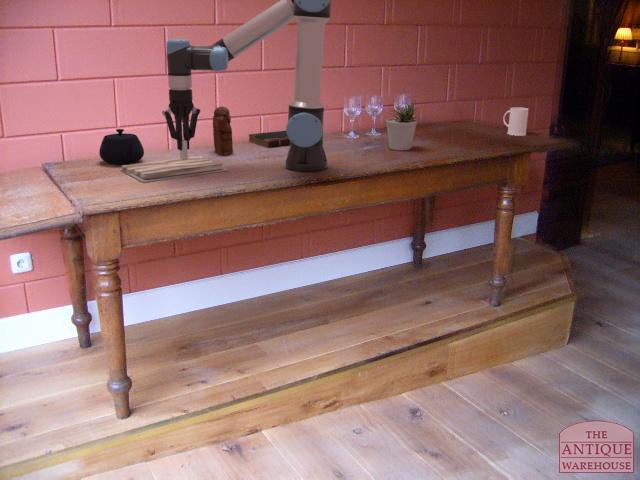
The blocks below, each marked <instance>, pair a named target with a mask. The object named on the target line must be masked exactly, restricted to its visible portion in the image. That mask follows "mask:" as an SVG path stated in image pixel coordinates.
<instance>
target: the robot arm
mask: <svg viewBox="0 0 640 480" xmlns="http://www.w3.org/2000/svg"><path fill="white" fill-rule="evenodd" d="M331 7H332V0H279V1H277V2H275V4H272V5H271V6H270V7H268V8H267V9H265V10H264V11H262V12H260V13H259V14H256V16H254V17H253V18H251V19H250V20H248V21H247V22H244V24H242V25H240V26H239V27H238V28H236V29H234V30H233V31H231V32H229V33H228V34H227V35H225V36H224V37H223V38H221V39H218V40H217V41H216V42H214V43H213V44H211V45H208V46H206V45H205V46H194V45H191V42H190V40H189V39H181V38H180V39H177V38H176V39H175V38H174V39H168V40H167V41H166V54H165V55H166V64H167V79H168V80H167V83H168V88H169V89H168V100H169V101H168V102H169V104H168V107H167V108H166V109H165V110H163V111H161V112H162V113H161V114H162V115H163V116H164V118H165V120H166V124H167V128H168V132H169V135H170V137H171V139H173V140H175V141H176V147H177V150H178V151H179V159H182V160H188V150H190V140H191V139H193V138H195V135H196V128H197V124H198V123H197V122H198V117H199V114H200V113H201V109H200V108H197V107H195V105H194V102H193V89H191V88H192V87H193V84H192V71H211V72H212V71H214V72H219V71H226V70H227V69H228V66H229V62H230V61H232V60H233V59H235V58H237V57H238V56H239V55H241V54H242V53H244V52H246V51H248V50H249V49H251V48H252V47H254V46H256V45H257V44H258V43H260V42H261V41H263V40H265V39H267V38H268V37H270V36H272V35H273V34H274V33H276V32H277V31H279V30H281V29H282V28H284V27H286V26H287V25H288V24H290V23H292V22H293V21H294V20H295V21H296V22H297V27H296V28H297V29H296V30H297V31H296V47H295V49H296V52H295V69H294V90H293V99H291V101H290V102H289V103H288V114H287V124H286V127H285V129H286V130H285V131H286V132H287V135H288V137H289V139H290V146H289V149H288V153H287V156H286V159H285V168H286V169H287V170H290V171H295V172H296V171H297V172H318V171H323V170H326V169H328V159H327V155H326V151H325V148H324V113H325V105H324V104H323V103H322V102H321V89H322V88H321V87H322V72H323V57H324V56H323V55H324V44H325V43H324V41H325V28H326V27H325V26H326V24H327V23H328V22H329V20H330V19H331V9H332V8H331ZM190 114H191V116H190ZM172 115H173V116H174V118H172ZM173 119H174V121H175V122H174V121H173ZM189 121H190V122H189ZM174 123H175V124H174Z"/></svg>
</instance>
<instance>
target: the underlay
mask: <svg viewBox="0 0 640 480" xmlns="http://www.w3.org/2000/svg"><path fill="white" fill-rule="evenodd" d="M120 172H122V173H123V174H125V175H127V176H130V177H131V178H133V179H135V180H136V181H139V182H140V183H142V184H145V183H154V182H161V181H167V180H173V179H182V178H189V177H195V176H204V175H210V174H216V173H223V172H229V169H228V168H225V167H222V169H216V170H209V171H202V172H195V173H187V174H180V175H173V176H166V177H159V178H151V179H144V178H142V177H140V176H138V175H135V174H133V173H131V174H129V173H127V172H125V171H123V170H122V169H120Z"/></svg>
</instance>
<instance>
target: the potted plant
mask: <svg viewBox="0 0 640 480" xmlns="http://www.w3.org/2000/svg"><path fill="white" fill-rule="evenodd" d="M415 101H416V100H413V102H409V103H408V104H407V106H406V104H405V103H403V104H404V109H405V110H404V109H403V108H402V107H400V106H398V105H396V104H395V105H394V106H395V108H396V109H397V110H399V111H397V110H395V109H392V108H391V109H390V110H391V111H392V112H394V113H395V114H392V113H389V115H391V116H393V117H394V118H393V117H392V118H388V119H387V118H386V120H385V124H386V129H387V130H386V131H387V138H388V139H387V140H388V146H389V149H390V150H394V151H400V152H401V151H402V152H403V151H404V150H405V151H409V150H410V149H412V147H413V141H414V135H415V132H416V131H415V130H416V128H417V123H418V121H419V120H420V118H417V116H418V115H416V116H415V117H414V115H415V114H416V113H417V112H418V110H417V109H418V108H417V107H416V106H417V103H415ZM416 118H417V119H416ZM405 151H404V152H405Z"/></svg>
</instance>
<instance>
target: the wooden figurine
mask: <svg viewBox="0 0 640 480" xmlns="http://www.w3.org/2000/svg"><path fill="white" fill-rule="evenodd" d="M231 120H232V119H231V114H230V110H229V108H228V107H226V106H218V107H216V108H215V109H214V111H213V117H212V128H213V129H212V131H213V133H212V135H213V145H214V146H213V147H214V152H215V153H216V154H218V155H220V156H222V157H223V156H224V157H226V156H230V155H232V154H233V152H234V149H233V148H234V147H233V130H232V126H231Z"/></svg>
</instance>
